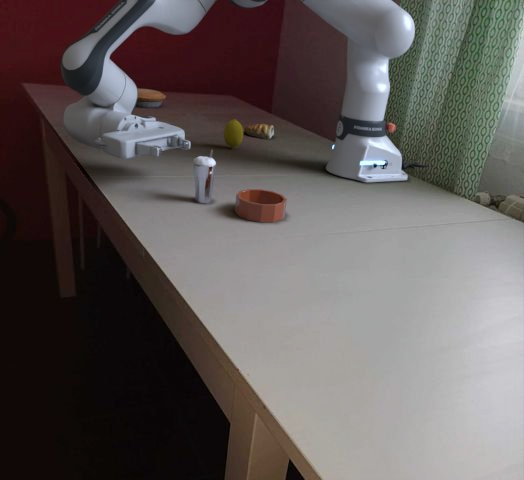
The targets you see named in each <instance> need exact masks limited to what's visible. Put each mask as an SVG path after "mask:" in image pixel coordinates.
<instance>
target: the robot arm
mask: <svg viewBox="0 0 524 480" xmlns="http://www.w3.org/2000/svg"><path fill="white" fill-rule="evenodd" d="M226 1H227V2H229V3H230V4H232V5H233V6H235V7H237V8H240V9H244V10H245V9H252V8H256V7H259V6H262V5H264V4H265V3H266V2H268V0H226ZM299 1H300V2H302V3H303V4H304V5H305V6H306V7H307V8H309V9H310V10H311V11H313V13H315V14H316V15H317V16H319V18H320V19H322V20H323V21H325V23H327V24H329V25H330V26H331V27H333V28H334V29H336V30H337V31H338V32H340V33H342V34H343V35H345V36H346V37H347V50H346V57H347V58H346V78H345V79H346V80H345V81H346V82H345V89H344V94H343V100H342V107H341V112H340V114H339V115H338V120H337V125H336V132H335V141H334V144H333V145H332V148H331V149H332V151H331V154H330V156H329V160H328V162H327V164H326V166H325V170H326V171H327V172H328V173H330V174H333V175H335V176H339V177H341V178H346V179H351V180H354V181H355V180H356V181H358V182H362V183H384V182H385V183H386V182H401V181H408V177H409V176H408V174H407V173H406V172H405V171H404V170H402V169H406V168H407V167H414V168H427V167H429V166H426V165H418V164H419V163H417V162H412V161H411V162H405V158H404V156H403V155H402V150H399V149H398V148H397V147H396V146H395V144H394V143H393V142H392V141H391V139H390V138H389V137H388V136H387V134H388V133H387V132H389V133H395V132H394V131H396V124H394V123H392V122H387V121H386V120H385V113H386V110H387V106H388V100H389V96H390V91H391V83H390V76H389V60H393V59H396V58H399V57H401V56H402V55H404V54H405V53H406V52H408V50H409V49H410V48H411V46H412V44H413V42H414V39H415V34H416V26H415V22H414V19H413V17H412V16H411V15H410V13H408V11H406V10H405V9H403V8H402V7H401V6H399V4H397V3H396V2H394V1H393V0H299ZM216 2H217V0H119V1H118V2H117V3H115V5H114V6H113V7H112V8H111V9H110V10H109V11H108V12H106V14H105V15H104V16H103V17H102V18H101V19H100V20H98V22H97V23H95V24H94V25H93V26H92V28H90V29H89V30H88V31H87V32H86V33H85V34H84V35H82V36H80V37H79V38H78V39H76V40H75V41H74V42H72V43H71V44H69V45H68V46H67V47H66V48H65V50H64V51H63V53H62V55H61V58H60V71H61V76H62V77H61V78H62V79H63V82H64V84H65V85H66V86H67V87H68V88H69V89H71V90H72V91H74V92H76V93H77V94H79V95H80V96H83V97H82V98H81V99H80V100H78V101H77V102H74V103H70V104H69V105H67V106H66V108H65V109H64V113H63V124H64V127H65V130H66V132H67V133H68V135H69V136H70V137H71V139H73V140H75V141H76V142H78V143H80V144H83V145H85V146H88V147H91V148H93V149H97V150H103V152H104V153H106V154H108V155H110V156H113V157H116V158H118V159H124V160H125V159H126V160H128V159H132V158H137V157H141V156H152V157H155V158H156V157H160V156H162V155H163V152H164V151H169V150H174V149H177V148H179V150H183V151H187V150H191V141H190V140H188V139H186V134H185V132H186V131H185V130H184V129H182V127H178V126H176V125H173V124H170V123H168V122H164V121H158V120H157V119H156V117H153V116H150V115H149V116H148V115H135V114H133V113H134V111H135V109H136V103H137V99H138V90H137V88H138V86H137V84H136V83H135V82H134V81H135V80H133V79H131V77H129V75H128V74H126V72H125V71H123V70H122V68H120V67H119V66H118V65H117V64H116V63H114V61H112V59H110V58H111V55H112V54H113V52H115V50H117V48H118V47H119V46H121V44H123V43H124V41H126V40H127V39H128V38H129V37H130V36H131V35H132V34H133V32H135V31H136V30H138V29H139V28H142V27H151V28H154V29H157V30H159V31H162V32H163V33H166V34H170V35H176V36H177V35H178V36H179V35H186V34H189V33H190V32H191V31H192V30H194V29H195V28H196V27H197V26H198V25H199V23H200V22H201V21H202V19H203V18H204V17H205V16H206V15H207V13H208V12H209V10H210V9H211V8H212V6H213V5H214V4H215V3H216Z"/></svg>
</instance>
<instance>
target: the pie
mask: <svg viewBox="0 0 524 480" xmlns="http://www.w3.org/2000/svg"><path fill="white" fill-rule="evenodd" d="M137 90H138V99H137V103H136V106H135V108H136V107H137V108H145V109H154V108H155V109H156V108H159V107H160V106H161V105H162V103H163V101H164V100H165V99H166V97H167V96H166V94H164V93H162V91H159V90H155V89H149V88H141V87H140V88H138V87H137Z"/></svg>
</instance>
